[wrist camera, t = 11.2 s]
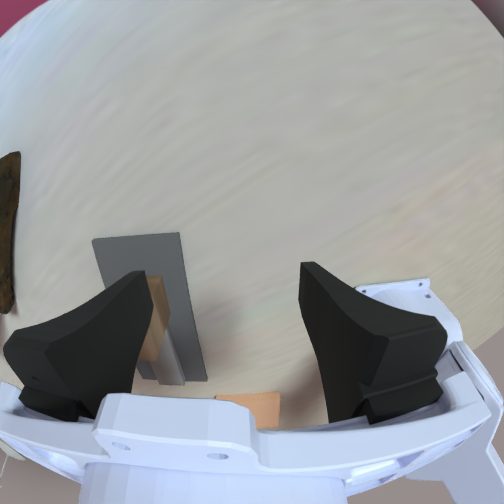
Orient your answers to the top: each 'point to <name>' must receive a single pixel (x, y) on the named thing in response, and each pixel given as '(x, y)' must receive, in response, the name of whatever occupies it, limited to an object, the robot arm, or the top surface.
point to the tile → (259, 407)
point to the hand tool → (7, 223)
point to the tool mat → (175, 282)
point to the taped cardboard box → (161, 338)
